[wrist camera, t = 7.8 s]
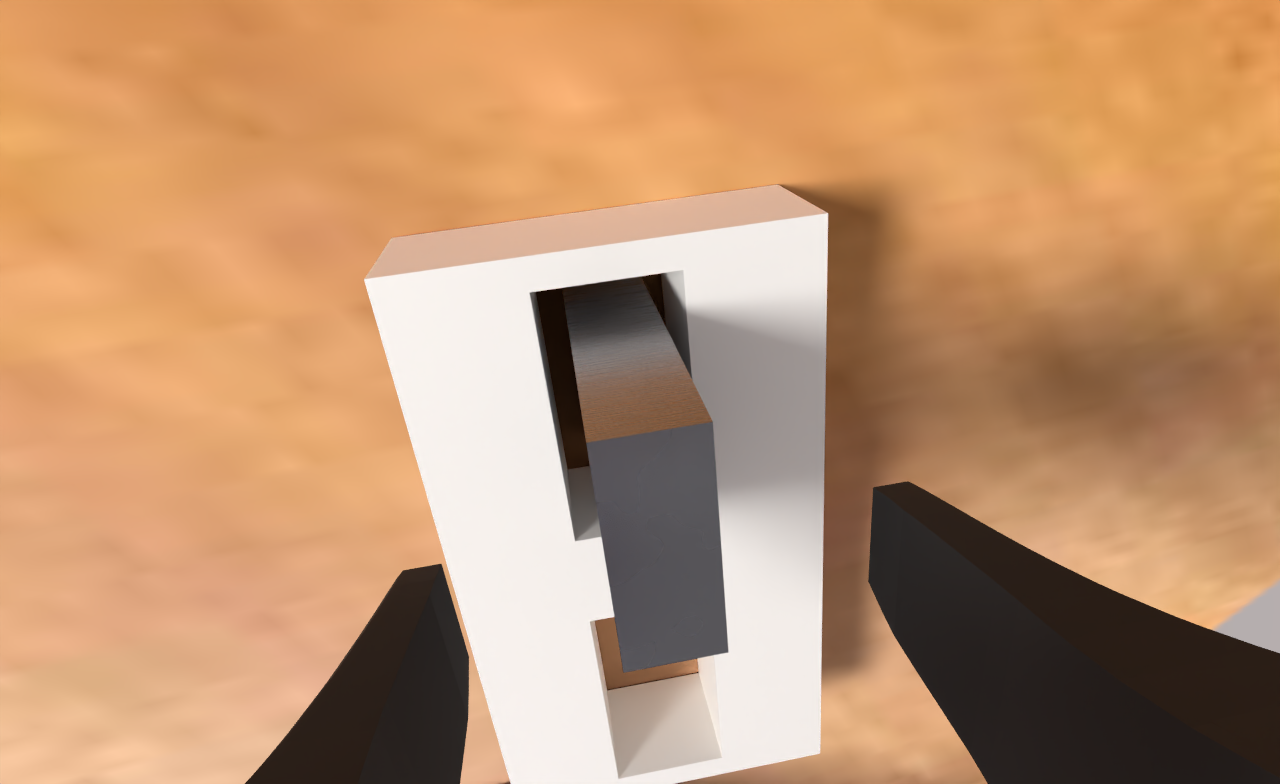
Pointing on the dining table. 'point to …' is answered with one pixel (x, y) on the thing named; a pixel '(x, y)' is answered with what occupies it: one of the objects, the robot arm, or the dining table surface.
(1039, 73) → the dining table surface
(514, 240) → the white board with holes
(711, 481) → the gray rectangular block
